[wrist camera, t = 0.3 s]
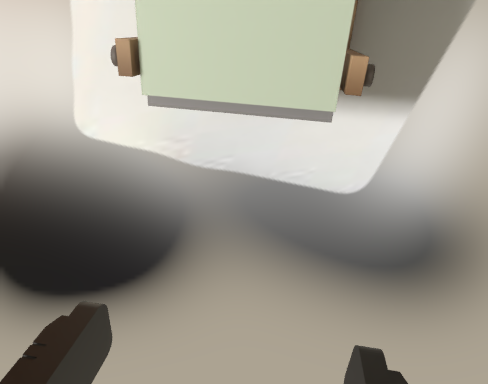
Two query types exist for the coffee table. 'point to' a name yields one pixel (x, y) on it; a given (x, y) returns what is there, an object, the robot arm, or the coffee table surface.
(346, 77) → the frame
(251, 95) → the trapdoor
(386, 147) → the coffee table surface
